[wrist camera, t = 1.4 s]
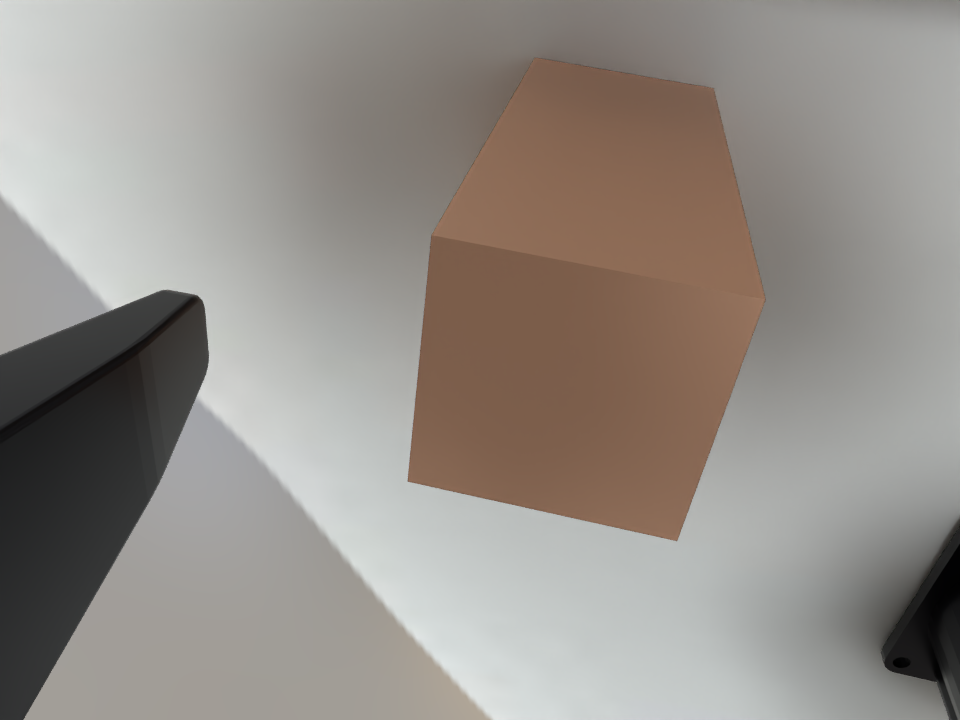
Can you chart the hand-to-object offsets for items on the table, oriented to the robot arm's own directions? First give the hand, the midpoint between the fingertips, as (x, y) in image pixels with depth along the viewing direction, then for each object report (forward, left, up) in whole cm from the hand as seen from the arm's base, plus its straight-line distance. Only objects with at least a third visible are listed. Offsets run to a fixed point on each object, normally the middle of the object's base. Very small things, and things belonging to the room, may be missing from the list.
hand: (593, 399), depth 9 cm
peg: (-1, 0, -11) cm, 11 cm away
